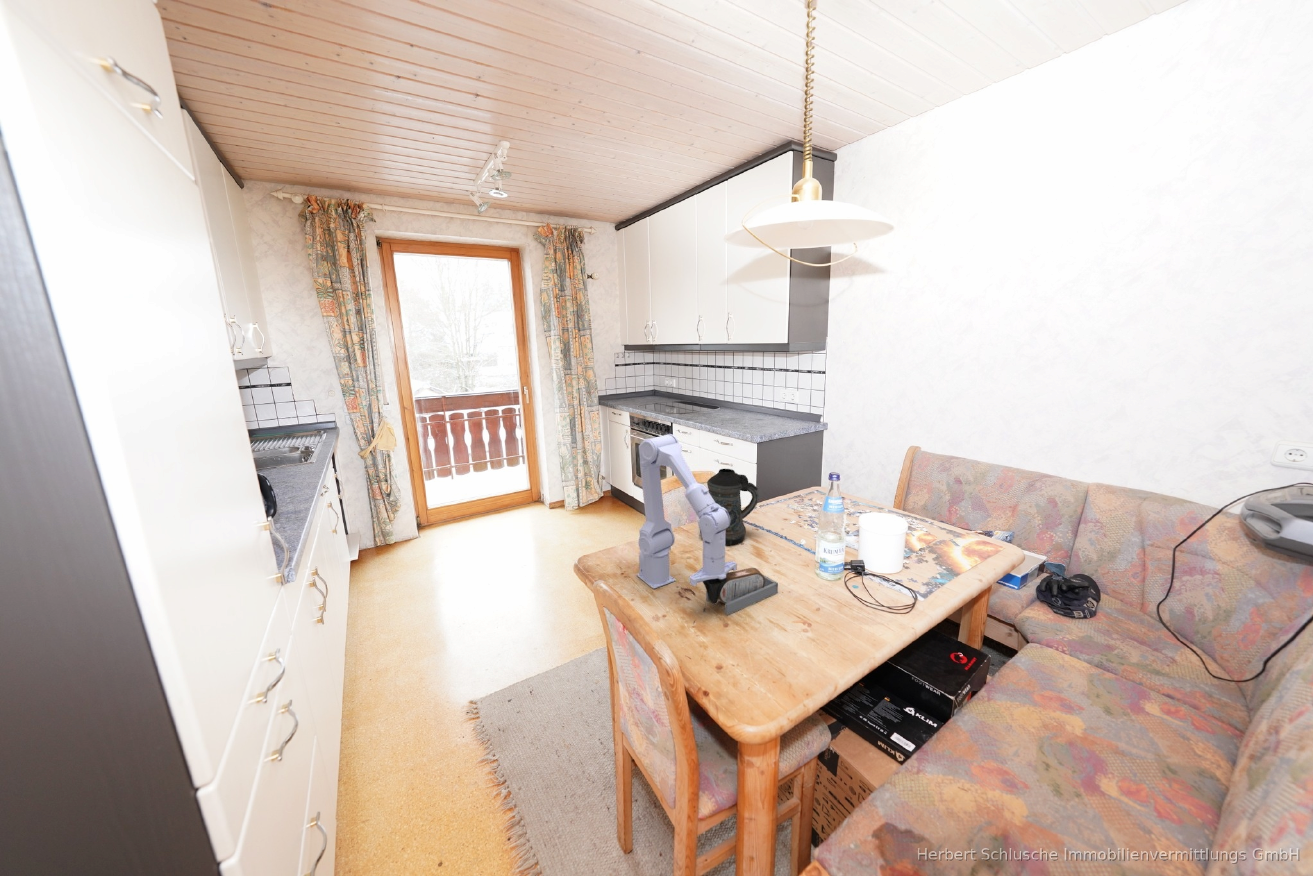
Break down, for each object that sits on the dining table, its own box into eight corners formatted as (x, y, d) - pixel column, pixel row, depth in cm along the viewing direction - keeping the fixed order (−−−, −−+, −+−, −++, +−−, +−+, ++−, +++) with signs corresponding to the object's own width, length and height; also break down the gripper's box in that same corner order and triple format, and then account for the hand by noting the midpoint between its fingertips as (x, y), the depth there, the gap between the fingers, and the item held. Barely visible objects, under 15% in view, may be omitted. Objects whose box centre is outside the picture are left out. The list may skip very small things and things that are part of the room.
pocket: (705, 600, 125) (706, 590, 125) (755, 579, 135) (755, 570, 135) (727, 615, 118) (727, 605, 118) (777, 592, 128) (778, 583, 128)
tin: (759, 591, 130) (760, 563, 128) (766, 596, 127) (767, 568, 125) (712, 602, 124) (713, 574, 122) (718, 608, 121) (718, 580, 120)
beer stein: (692, 531, 170) (692, 466, 165) (739, 523, 176) (741, 461, 170) (710, 550, 155) (711, 479, 149) (761, 541, 160) (764, 473, 155)
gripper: (701, 568, 111) (701, 618, 114) (745, 552, 119) (744, 599, 121) (684, 557, 117) (684, 604, 120) (727, 542, 124) (726, 588, 127)
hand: (713, 601), depth 121 cm, fingers closed
